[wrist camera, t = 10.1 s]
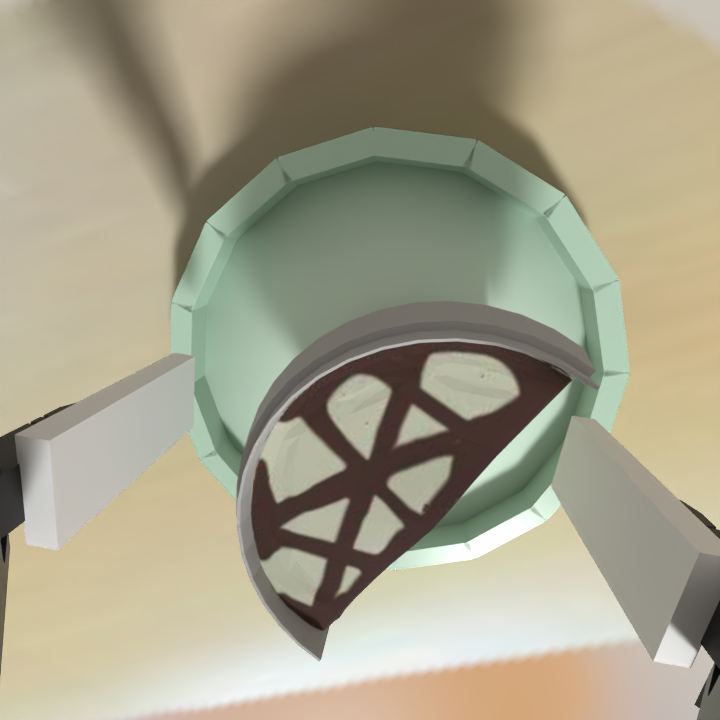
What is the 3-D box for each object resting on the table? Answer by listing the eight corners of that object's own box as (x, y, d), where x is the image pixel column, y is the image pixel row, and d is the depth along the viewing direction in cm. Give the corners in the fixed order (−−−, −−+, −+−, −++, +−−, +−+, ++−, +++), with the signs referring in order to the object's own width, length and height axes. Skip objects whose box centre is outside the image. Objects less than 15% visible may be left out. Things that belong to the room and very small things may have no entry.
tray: (191, 500, 25) (169, 527, 23) (201, 117, 20) (172, 101, 17) (540, 563, 24) (555, 600, 22) (660, 175, 18) (697, 166, 16)
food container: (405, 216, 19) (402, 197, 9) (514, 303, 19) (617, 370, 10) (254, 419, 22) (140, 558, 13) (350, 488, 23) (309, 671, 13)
